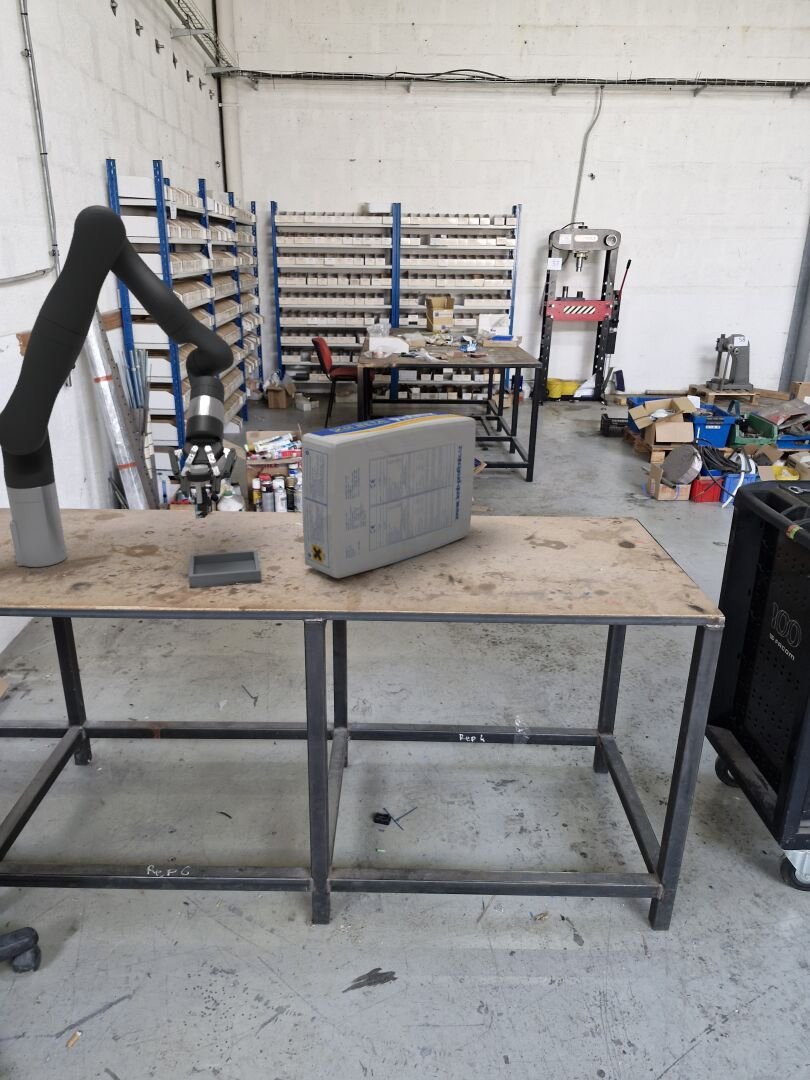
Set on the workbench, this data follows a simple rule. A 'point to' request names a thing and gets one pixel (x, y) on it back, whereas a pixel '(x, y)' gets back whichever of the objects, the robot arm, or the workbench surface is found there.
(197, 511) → the push button
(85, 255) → the robot arm
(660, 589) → the workbench surface
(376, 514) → the construction material bag
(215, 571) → the tray
